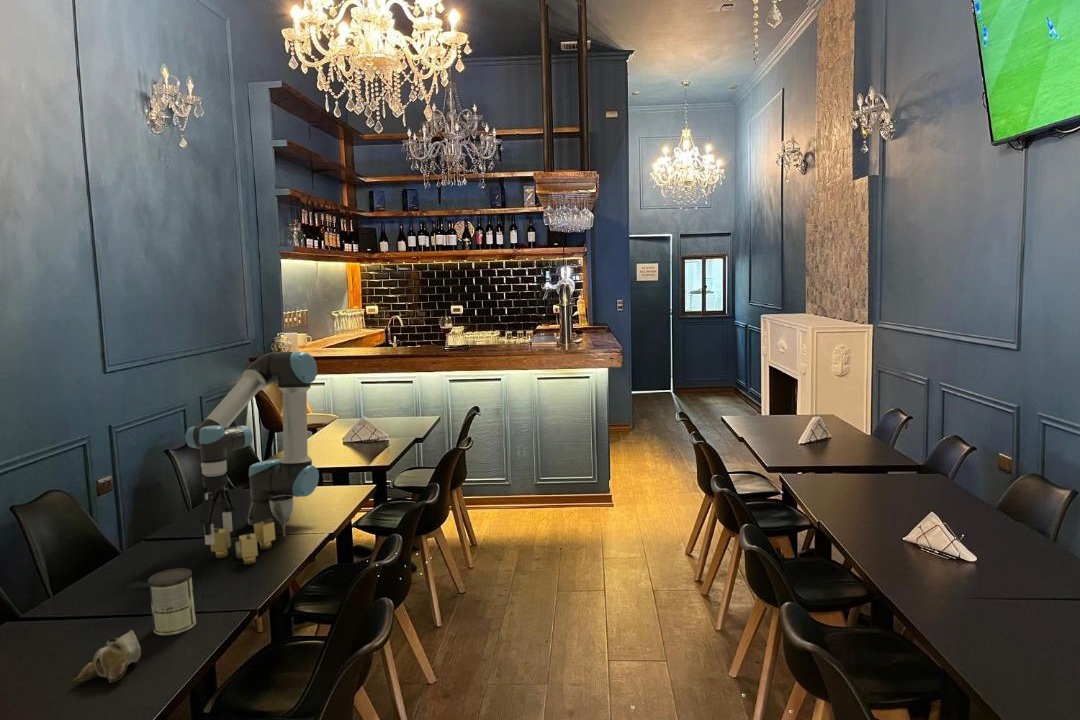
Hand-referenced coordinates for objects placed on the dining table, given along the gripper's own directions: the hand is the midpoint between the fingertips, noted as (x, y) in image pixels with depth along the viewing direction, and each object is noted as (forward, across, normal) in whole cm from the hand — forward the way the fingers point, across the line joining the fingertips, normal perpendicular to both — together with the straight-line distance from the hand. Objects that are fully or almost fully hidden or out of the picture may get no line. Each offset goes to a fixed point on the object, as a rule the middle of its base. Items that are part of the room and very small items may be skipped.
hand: (219, 537), depth 253 cm
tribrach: (+8, 0, +8) cm, 11 cm away
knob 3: (+6, -7, +12) cm, 16 cm away
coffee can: (+9, +50, +9) cm, 51 cm away
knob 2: (+6, +6, +12) cm, 15 cm away
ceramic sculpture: (+9, +74, +7) cm, 75 cm away
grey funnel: (+8, -20, +14) cm, 25 cm away
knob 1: (+6, 0, 0) cm, 6 cm away
